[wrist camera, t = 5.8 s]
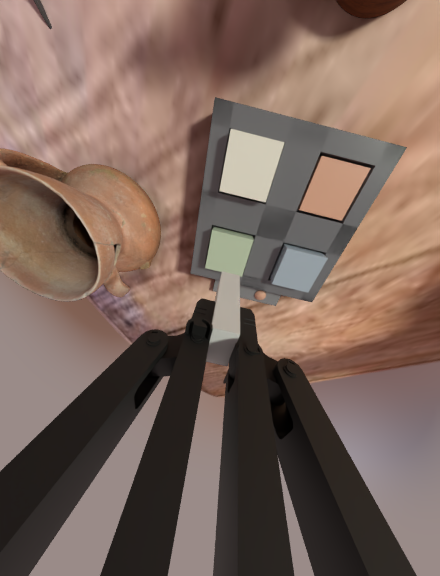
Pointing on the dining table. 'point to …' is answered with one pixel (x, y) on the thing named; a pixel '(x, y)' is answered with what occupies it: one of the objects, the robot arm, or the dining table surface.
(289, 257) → the slate key
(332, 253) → the keypad
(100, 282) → the ceramic jug
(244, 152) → the cream key
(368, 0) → the music box
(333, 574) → the robot arm
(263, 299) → the plaque
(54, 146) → the dining table surface
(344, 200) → the terracotta key
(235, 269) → the sage key
